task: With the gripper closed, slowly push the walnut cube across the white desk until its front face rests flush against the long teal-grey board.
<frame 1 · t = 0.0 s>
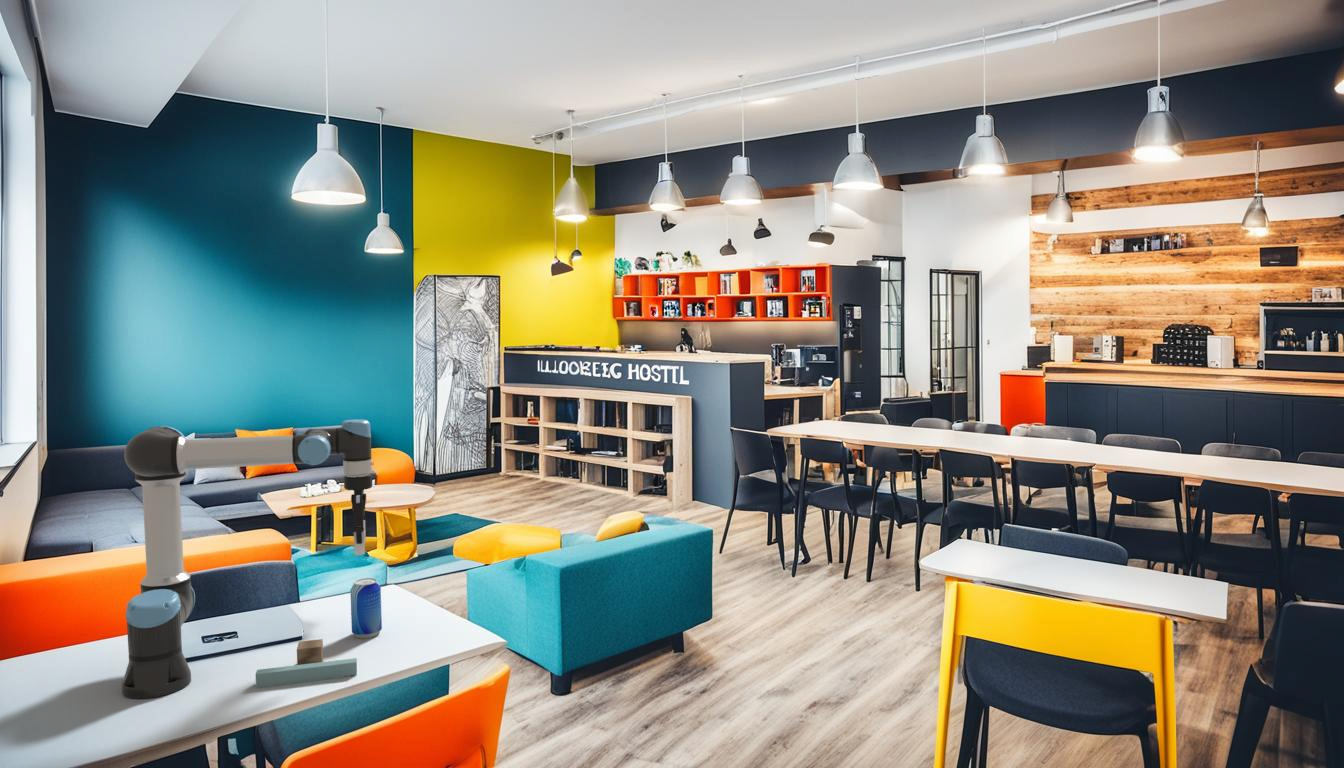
hand: (360, 548, 248), 28 cm above the table, fingers open, 13 cm apart
beer can: (367, 634, 259), on the table
board: (307, 679, 226), on the table
block: (310, 665, 235), on the table
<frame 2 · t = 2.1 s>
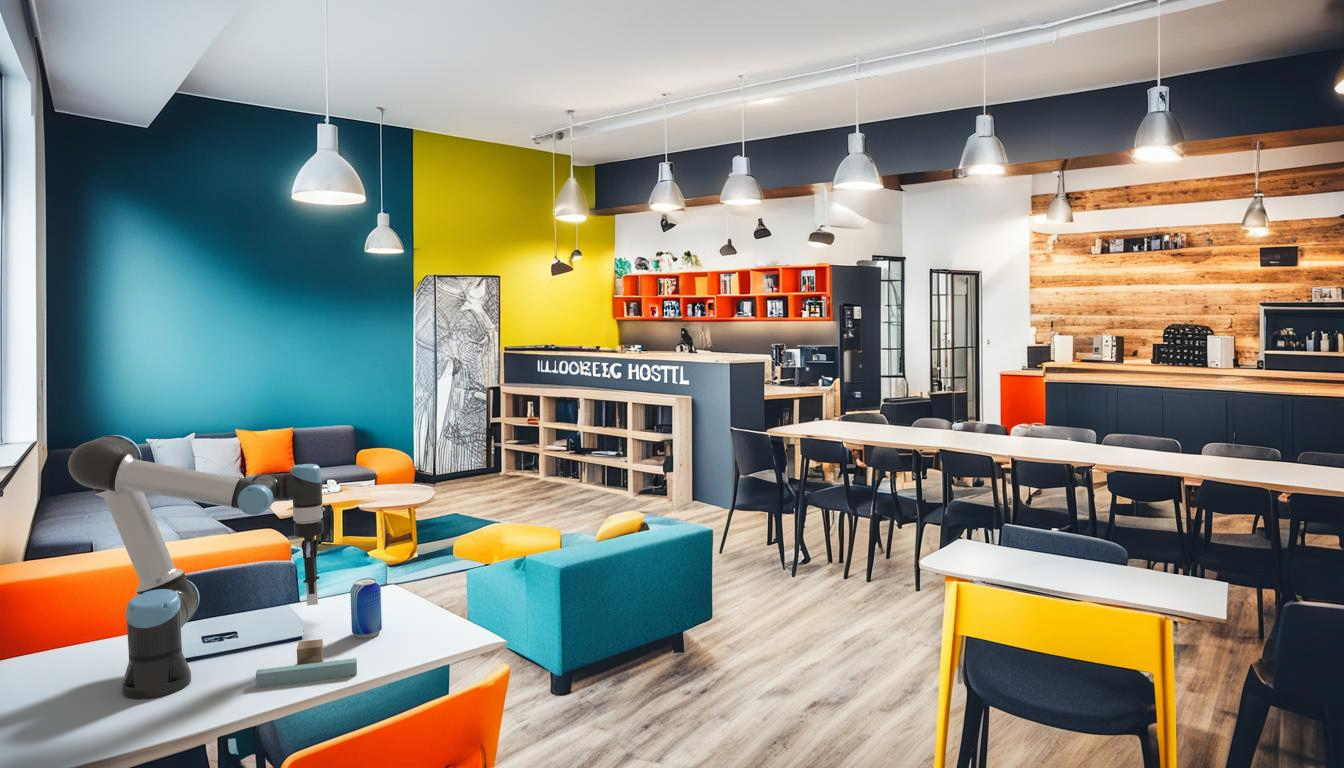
hand: (312, 603, 243), 14 cm above the table, fingers closed
nothing on the table moved.
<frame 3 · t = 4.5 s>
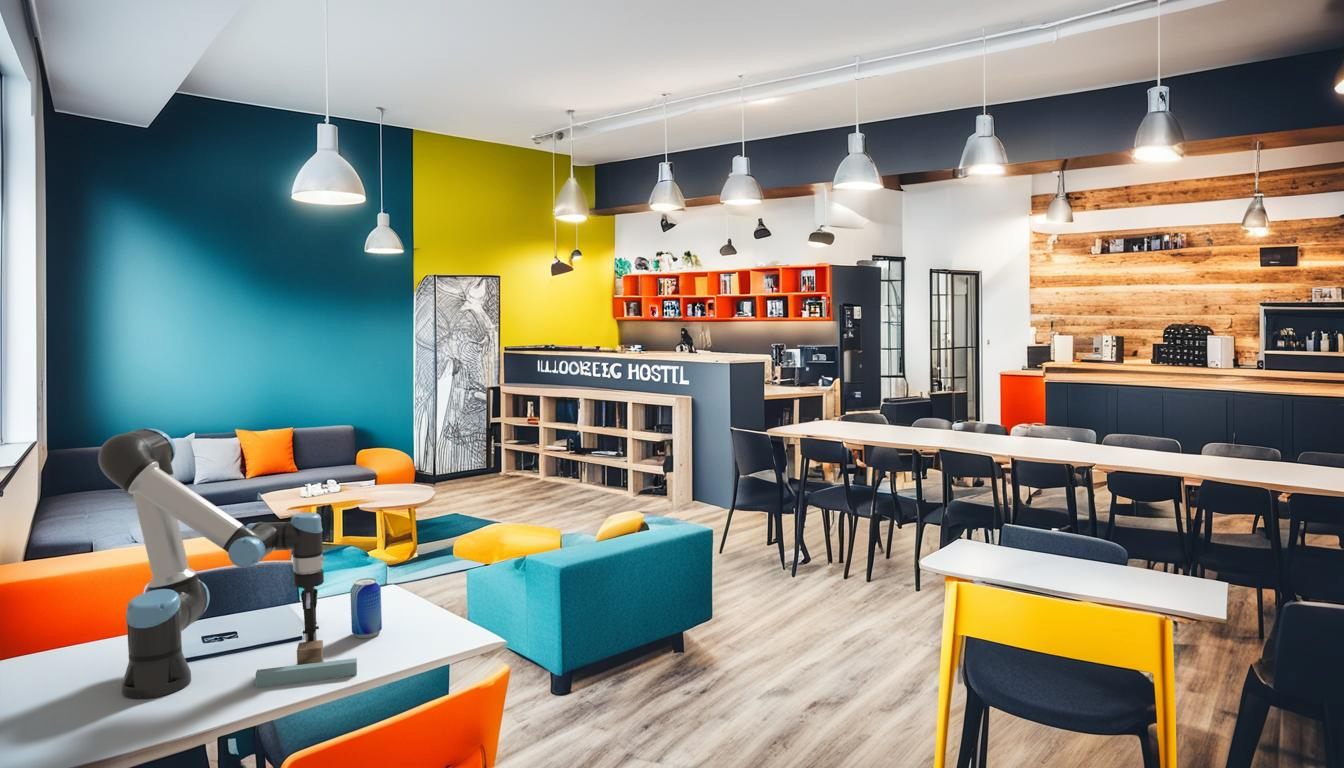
hand: (311, 654, 239), 1 cm above the table, fingers closed
block: (310, 667, 234), on the table, touching gripper
everything else where it was.
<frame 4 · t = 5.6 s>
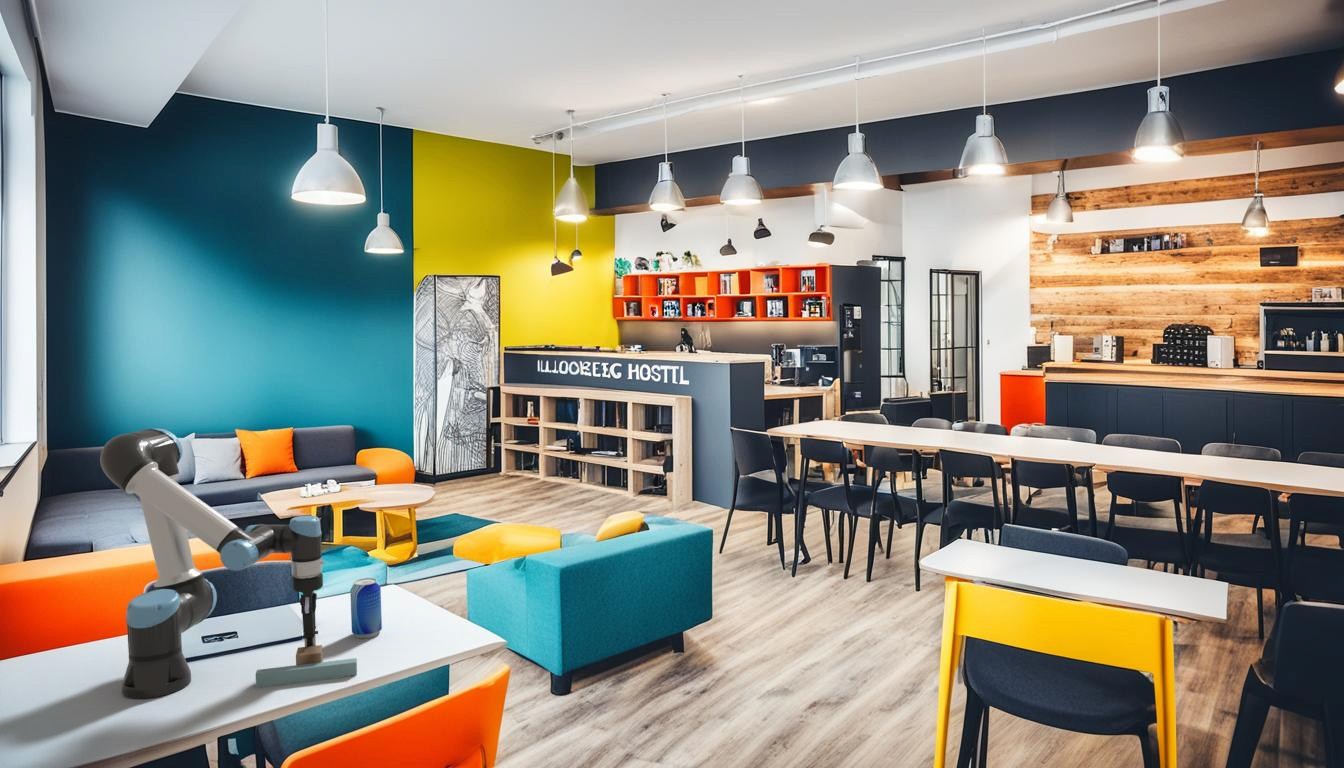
hand: (310, 659, 235), 1 cm above the table, fingers closed
block: (309, 672, 231), on the table, touching board, gripper
everything else where it was.
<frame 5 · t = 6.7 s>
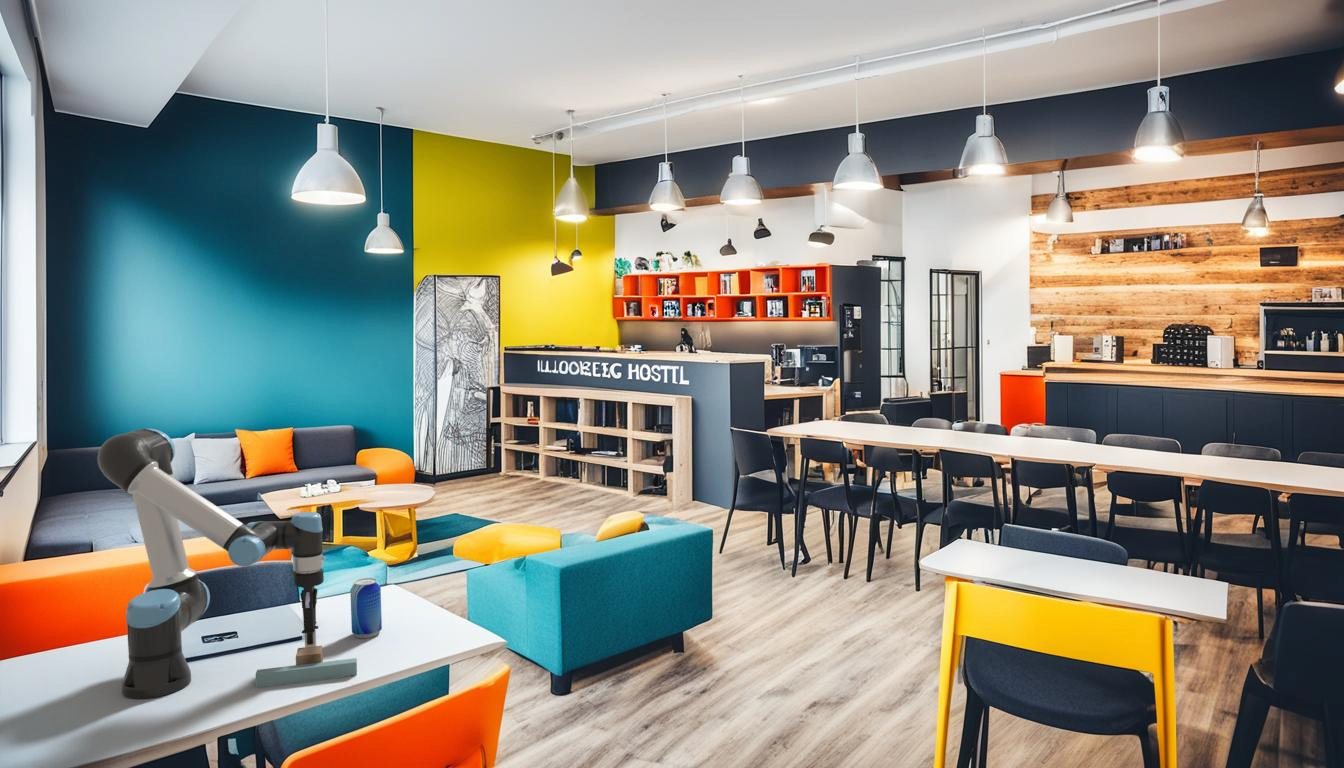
hand: (310, 654, 239), 2 cm above the table, fingers closed
block: (310, 672, 231), on the table
everything else where it was.
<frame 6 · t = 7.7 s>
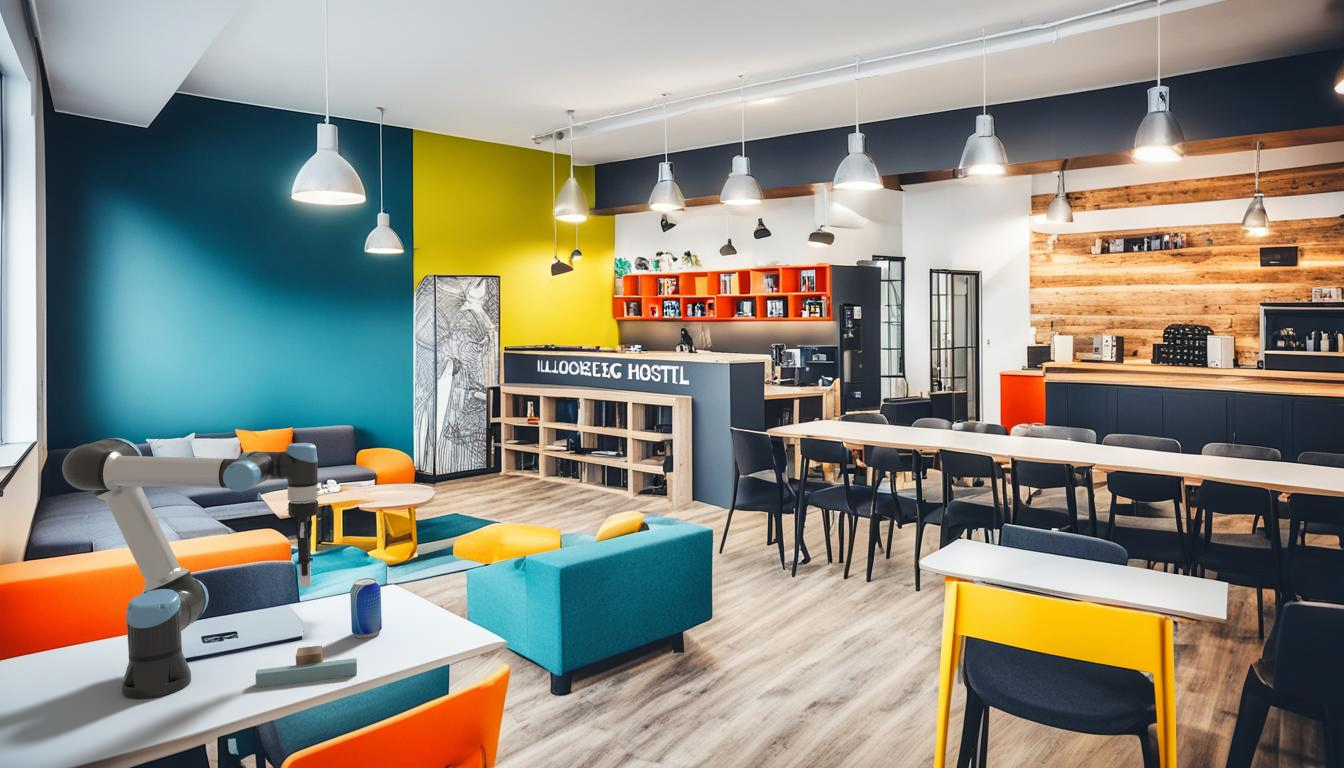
hand: (305, 586, 238), 21 cm above the table, fingers closed
nothing on the table moved.
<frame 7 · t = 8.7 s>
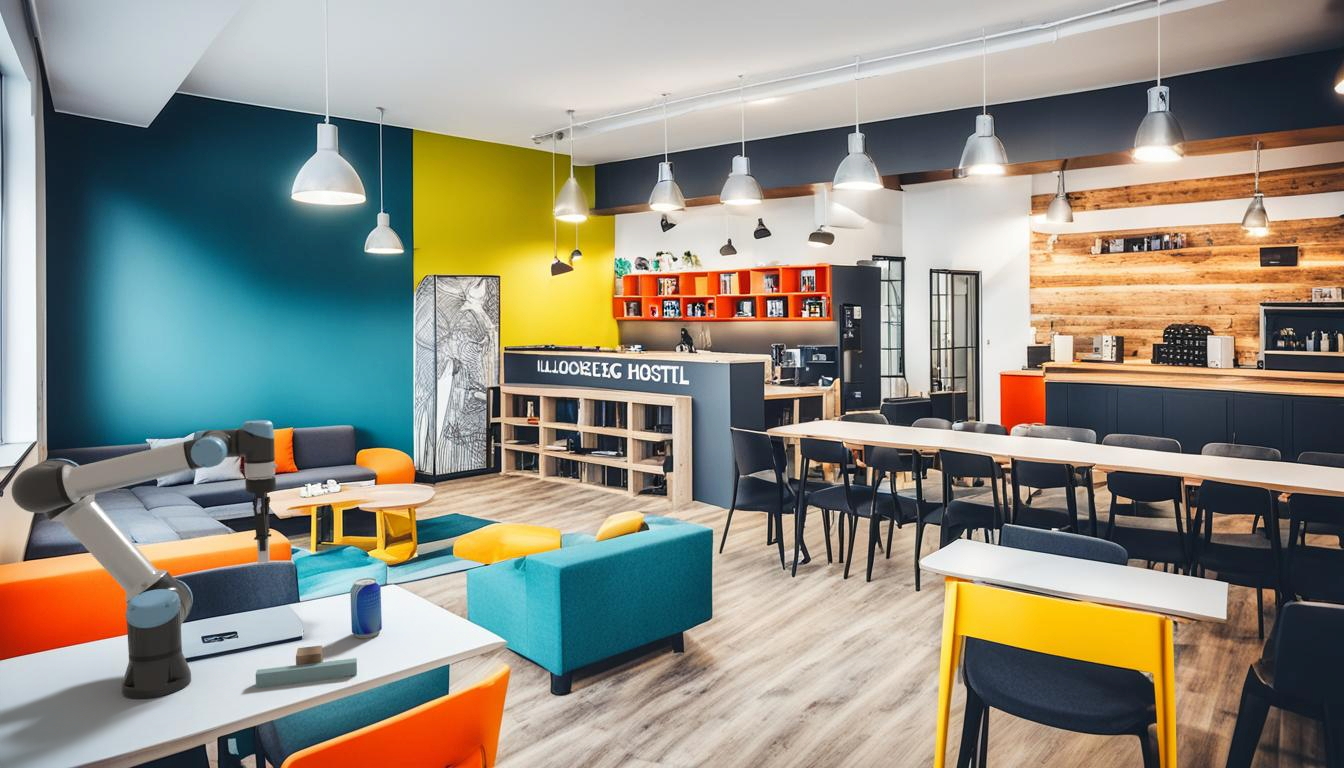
hand: (263, 561, 241), 26 cm above the table, fingers closed
nothing on the table moved.
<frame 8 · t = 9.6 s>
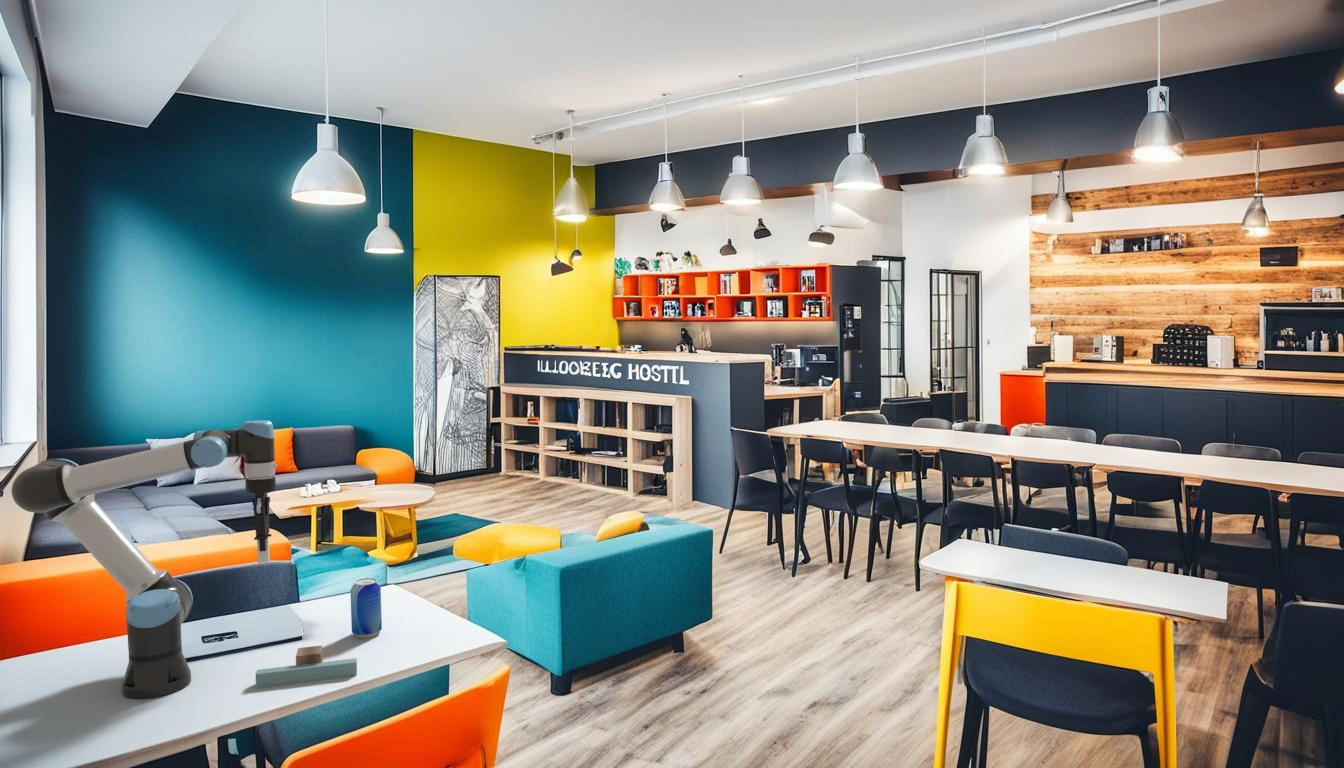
hand: (263, 561, 241), 26 cm above the table, fingers closed
nothing on the table moved.
at the end: block inside the target area on the table beside the board (1.0 cm from its centre), on the table; block tilted 0° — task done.
